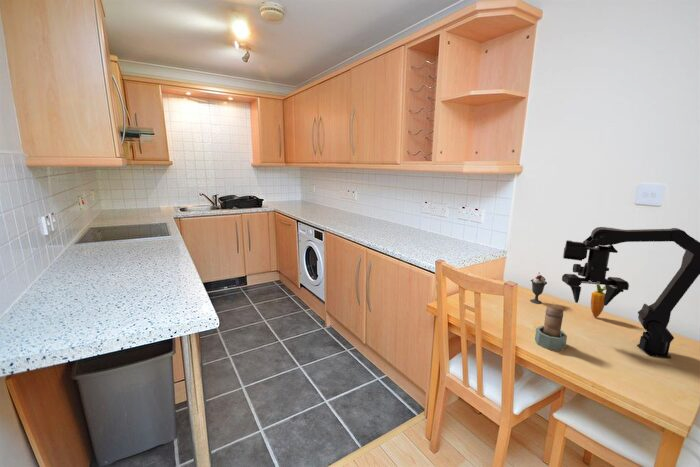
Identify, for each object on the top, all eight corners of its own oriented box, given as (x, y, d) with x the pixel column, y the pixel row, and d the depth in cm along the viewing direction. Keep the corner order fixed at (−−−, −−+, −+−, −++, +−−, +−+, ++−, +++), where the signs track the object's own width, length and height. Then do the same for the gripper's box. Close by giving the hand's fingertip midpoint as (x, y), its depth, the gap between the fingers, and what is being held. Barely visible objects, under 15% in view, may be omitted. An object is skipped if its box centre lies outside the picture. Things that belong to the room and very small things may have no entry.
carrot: (602, 316, 134) (607, 283, 131) (603, 321, 129) (609, 286, 127) (587, 313, 136) (593, 281, 133) (588, 318, 132) (594, 284, 129)
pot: (558, 339, 115) (560, 327, 114) (568, 352, 107) (570, 340, 106) (532, 336, 117) (533, 324, 116) (540, 348, 109) (542, 336, 108)
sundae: (531, 304, 146) (535, 273, 143) (525, 298, 152) (529, 268, 149) (546, 305, 145) (551, 274, 142) (540, 299, 151) (544, 269, 148)
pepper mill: (549, 337, 115) (554, 304, 112) (562, 345, 110) (567, 310, 108) (538, 339, 114) (542, 306, 111) (550, 347, 109) (556, 312, 106)
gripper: (614, 258, 117) (607, 297, 120) (558, 255, 121) (553, 293, 124) (633, 267, 107) (625, 310, 110) (571, 263, 111) (565, 304, 114)
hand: (590, 303), depth 115 cm, fingers open, 9 cm apart
